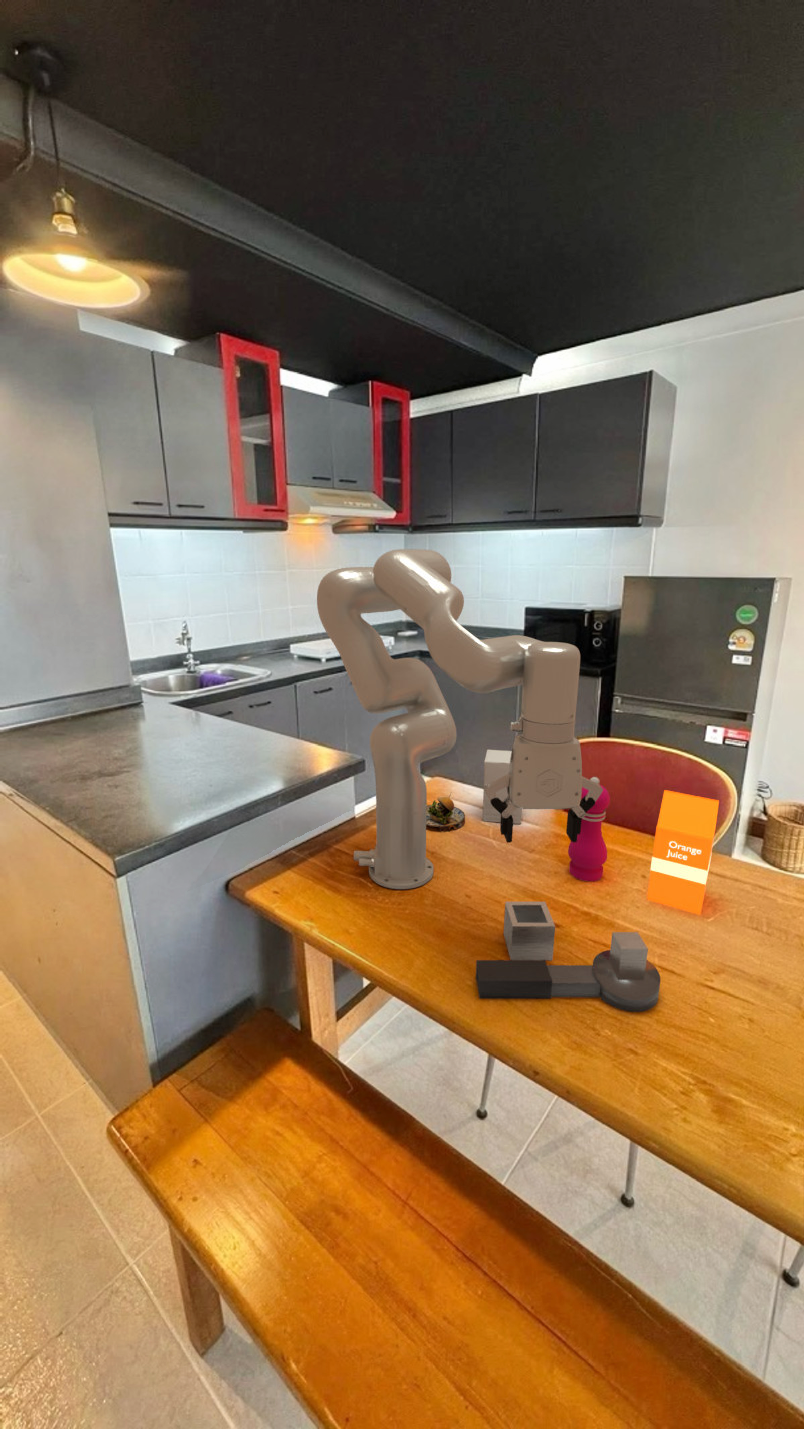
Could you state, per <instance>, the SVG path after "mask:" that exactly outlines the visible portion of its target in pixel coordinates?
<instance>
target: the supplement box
mask: <svg viewBox="0 0 804 1429" xmlns="http://www.w3.org/2000/svg"><path fill="white" fill-rule="evenodd" d="M511 753H512V750H501V749H500V750H498V749H487V750H486V754H485V758H484V762H483V766H484V767H483V787H484V786H485V785H486V784H488V783H490V782H492V781H495V780H497V779H499V778H501V777H503V776H505V775H507V774H508V771H509V764H510V758H511ZM482 793H483V794H482V795H483V797H482V799H483V801H482V821H483V822H491V823H500V822H501V814H500V813H499V812H498V811H497V810H496V809H495V808H494V807H493V806H492V805H491V803H490V801H489V799H488V797H487V795H486V793H485V791H484V790H483V792H482ZM496 796H497V797H498V798H499V799H500V800H501V801H503V800H504V799H505V798H506V797H507V796H508V793H507V787H505V788H503V789H501V790H499V791H497V792H496ZM522 813H523V809H520V808H517V809H516V810H515V811H514V812H513V813H512V814H511V815H512V818H513V825H514V824H516V825H521V824H522Z"/></svg>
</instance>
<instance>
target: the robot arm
mask: <svg viewBox="0 0 804 1429" xmlns="http://www.w3.org/2000/svg"><path fill="white" fill-rule="evenodd" d="M451 570H452V569H451V567H450V564H449V562H448V560H447V559H446V558H445V557H444V556H443V555H442V554H441V553H440V552H437V550H432V549H417V548H416V549H414V548H413V549H405V548H403V549H402V548H399V549H394V550H393V549H392V550H390V551H389V550H388V551H386V552H385V553H383V554H382V555H380V556H379V557H378V559H377V560H376V561H375V562H374V565H373V566H352V567H342V568H338V569H335V570H332V571H330V572H328V573H327V574H325V575H324V576H323V577H322V579H321V580H320V583H319V584H318V587H317V593H316V606H317V614H318V616H319V619H320V623H321V625H322V627H323V629H324V630H325V632H326V634H327V636H328V637H329V638H330V640H331V642H332V643H333V645H334V646H335V649H336V650H337V652H338V654H339V657H340V659H341V660H342V664H343V666H344V668H345V670H346V672H347V675H348V677H349V681H350V682H351V685H352V688H353V689H354V691H355V695H356V696H357V698H358V700H359V704H360V705H361V707H362V708H363V709H364V710H365V711H366V712H368V713H370V714H375V715H377V714H383V713H389V712H390V713H391V712H393V711H397V710H401V709H406V711H407V712H405V713H401V714H398V715H394V716H391V717H387V718H386V719H383V720H382V721H380V722H379V723H377V724H376V726H374V728H373V729H372V731H371V734H370V736H369V748H370V754H371V758H372V762H373V767H374V777H375V778H374V780H375V807H376V808H375V810H376V811H375V812H376V813H375V814H376V816H375V818H376V819H375V821H376V823H375V825H376V829H375V830H376V844H375V847H374V848H375V849H373V848H371V849H369V851H368V850H367V851H366V850H365V851H364V850H354V851H353V861H356V862H358V866H359V867H368V874H369V877H370V879H371V880H372V881H373V882H374V883H376V884H377V885H380V886H382V887H384V888H388V889H393V890H410V889H416V888H418V887H421V886H423V885H425V884H427V883H428V882H429V881H431V879H432V878H433V876H434V864H433V862H432V861H430V859H429V858H427V857H426V854H427V825H426V810H427V805H428V804H427V803H428V802H427V797H428V796H427V795H428V793H427V785H426V781H425V779H424V777H423V775H422V773H421V771H420V769H419V765H420V764H421V763H424V762H426V761H430V760H431V759H432V760H433V759H434V758H438V757H440V756H443V755H445V754H447V753H449V752H450V751H451V750H452V749H453V748H454V746H455V744H456V740H457V726H456V723H455V720H454V718H453V715H452V713H451V711H450V708H449V705H448V704H447V701H446V699H445V698H444V695H443V693H442V691H441V690H442V689H440V686H439V683H438V682H437V679H436V676H435V675H434V673H433V672H432V669H430V667H429V666H428V665H427V664H426V663H425V662H423V661H422V660H420V659H418V658H416V657H415V658H414V657H401V658H395V659H394V658H393V657H391V655H390V653H389V651H388V650H387V648H386V645H385V643H384V641H383V639H382V637H381V635H380V633H378V631H377V630H376V629H375V628H374V627H373V625H371V624H370V623H369V622H367V621H366V620H365V619H364V618H363V616H362V614H372V613H373V614H375V613H376V614H377V613H385V612H394V611H402V612H403V613H404V614H405V616H407V617H408V618H410V619H411V620H412V621H413V622H414V623H415V624H417V625H418V626H419V627H420V628H422V629H423V632H424V633H423V634H424V641H425V644H426V648H427V649H428V650H427V651H428V652H429V655H430V657H431V658H432V660H433V662H434V663H435V664H436V666H438V667H439V668H440V669H441V670H442V671H443V672H444V673H445V674H447V676H449V677H450V678H451V679H452V680H453V681H454V682H456V683H457V684H459V685H460V686H461V687H463V688H464V689H466V690H468V691H470V692H473V693H477V694H487V693H491V692H495V691H496V692H497V691H499V690H503V689H504V690H505V689H507V688H513V687H518V686H522V691H521V692H522V695H521V710H520V712H521V713H520V714H521V715H519V718H518V720H516V721H511V722H510V724H509V725H510V726H509V729H510V731H511V732H516V733H518V734H517V735H516V736H515V737H514V741H513V745H512V748H511V751H512V753H511V758H510V764H509V771H508V774H507V775H505V776H503V777H501V778H499V779H497V780H495V781H492V782H490V783H488V784H486V785H485V786H484V785H483V792H484V791H485V793H486V795H487V797H488V799H489V801H490V803H491V805H492V806H493V807H494V808H495V809H496V810H497V811H498V812H499V813H500V814H501V822H499V823H500V828H499V830H500V834H501V835H503V836H504V839H505V841H506V843H507V844H509V843H511V842H513V833H514V832H513V830H514V824H513V818H512V815H511V814H512V813H513V812H514V811H515V810H516V809H517V808H520V809H522V810H567V818H566V828H565V829H566V830H565V833H566V835H567V837H568V839H569V840H570V842H571V841H572V842H577V834H580V832H581V821H582V818H583V817H584V816H585V813H586V812H587V811H588V810H589V809H591V808H592V807H593V806H594V805H595V801H596V800H597V799H598V798H599V796H600V795H601V793H602V791H603V789H602V787H601V786H602V785H601V784H600V783H599V784H597V783H595V782H593V781H591V780H590V779H589V778H587V777H585V776H583V768H582V767H583V766H582V764H583V763H582V751H581V743H580V742H581V741H580V740H579V739H577V737H575V727H576V714H577V704H578V703H577V702H578V693H579V692H578V691H579V679H580V667H581V653H580V650H579V648H578V647H577V646H576V645H574V644H571V643H567V642H560V641H559V642H558V641H542V640H539V639H535V638H534V637H529V636H525V635H519V634H517V635H516V634H515V635H506V636H498V637H492V638H484V639H480V638H478V637H476V636H475V635H473V634H472V633H471V632H469V630H467V629H466V628H465V627H463V626H462V625H461V624H460V623H459V622H458V620H459V618H460V617H461V614H462V611H463V609H464V604H465V598H464V594H463V593H462V591H461V590H460V589H459V588H458V587H457V586H456V585H454V584H453V583H452V571H451ZM600 785H601V786H600ZM505 787H507V793H508V796H507V797H506V798H505V799H504V800H503V801H501V800H500V799H499V798H498V797H497V796H496V792H497V791H499V790H501V789H503V788H505ZM582 787H583V788H585V789H587V790H589V792H588V794H587V795H586V796H585V797H583V798H582V799H581V795H582Z"/></svg>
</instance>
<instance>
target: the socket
mask: <svg viewBox="0 0 804 1429" xmlns="http://www.w3.org/2000/svg"><path fill="white" fill-rule="evenodd" d="M504 904H505V905H504V919H503V922H504V923H503V936H504V941H505V945H506V948H507V951H508V956H509V960H545V961H553V959H554V958H553V957H554V956H553V955H554V945H555V935H556V934H555V933H556V925H555V922H554V920H553V918H552V915H551V912H550V910H549V908H548V905H547V903H546V901H505V903H504Z"/></svg>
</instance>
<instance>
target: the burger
mask: <svg viewBox="0 0 804 1429" xmlns="http://www.w3.org/2000/svg"><path fill="white" fill-rule="evenodd" d="M450 796H451V793H450V795H449V796H439V797H438V798H437V801H438V802H437V801H436V800H435V799H434V800H433V801H432V803H431V804H427V810H426V826H428V827H433V828H438V829H439V831H440V832H442V833H445V832H446V833H447V832H450V829H451V828H452V827H453V829H454V830H456V831H457V830H459V829H460V828H462V826H464V824H466V814H465V812H464V811H463V810H462V809H460V808H459V807H456V806H455V803H454V801H453V800H452V799H451V798H450Z"/></svg>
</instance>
